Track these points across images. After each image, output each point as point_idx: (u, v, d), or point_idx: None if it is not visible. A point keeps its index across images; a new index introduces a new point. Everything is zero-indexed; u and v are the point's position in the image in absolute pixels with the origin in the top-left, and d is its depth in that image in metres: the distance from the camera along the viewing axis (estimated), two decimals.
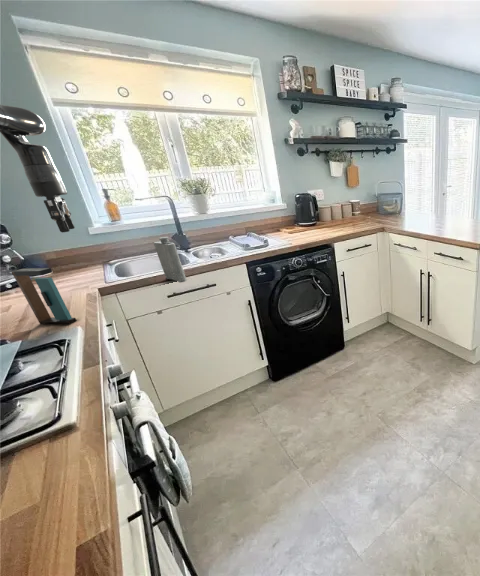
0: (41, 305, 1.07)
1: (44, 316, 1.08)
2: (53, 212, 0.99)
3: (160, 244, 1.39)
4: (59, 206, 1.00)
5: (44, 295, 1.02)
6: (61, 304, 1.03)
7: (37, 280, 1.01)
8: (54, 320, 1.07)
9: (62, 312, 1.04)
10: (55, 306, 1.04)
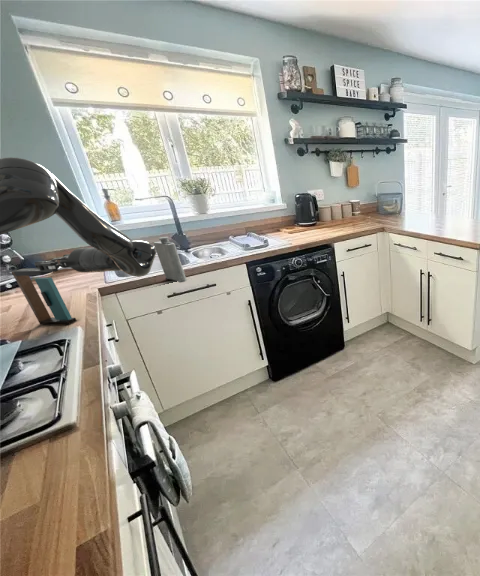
0: (41, 305, 1.07)
1: (44, 316, 1.08)
2: (53, 262, 0.93)
3: (160, 244, 1.39)
4: None
5: (44, 295, 1.02)
6: (61, 304, 1.03)
7: (37, 280, 1.01)
8: (54, 320, 1.07)
9: (62, 312, 1.04)
10: (55, 306, 1.04)
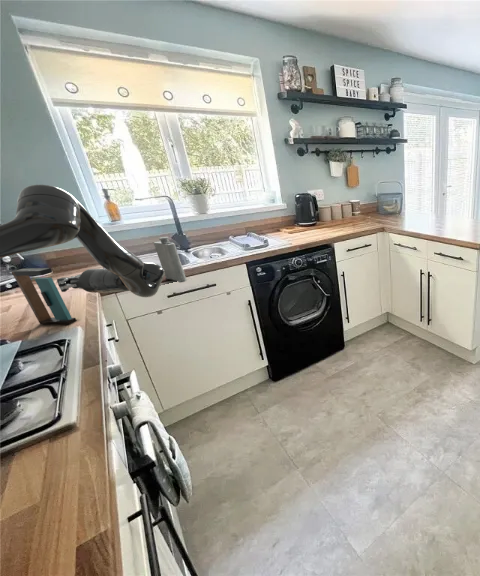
0: (41, 305, 1.07)
1: (44, 316, 1.08)
2: (69, 280, 0.97)
3: (160, 244, 1.39)
4: None
5: (44, 295, 1.02)
6: (61, 304, 1.03)
7: (37, 280, 1.01)
8: (54, 320, 1.07)
9: (62, 312, 1.04)
10: (55, 306, 1.04)
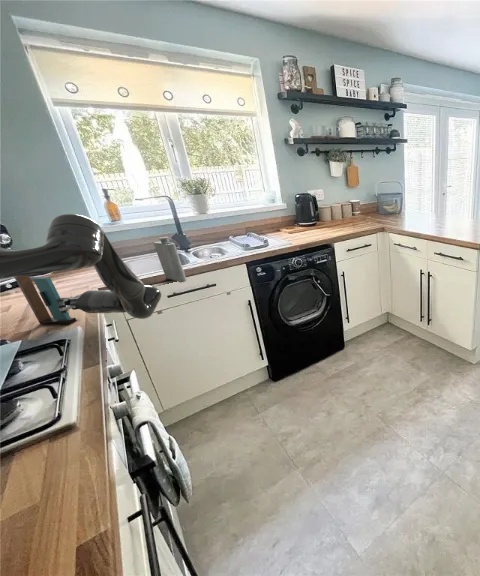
0: (41, 305, 1.07)
1: (44, 316, 1.08)
2: (69, 301, 1.01)
3: (160, 244, 1.39)
4: None
5: (43, 295, 1.02)
6: None
7: (35, 280, 1.01)
8: (54, 320, 1.07)
9: None
10: (54, 306, 1.04)
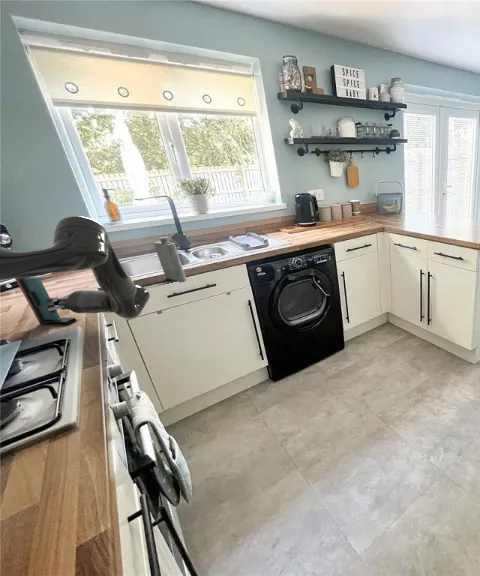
0: None
1: None
2: (58, 301, 1.02)
3: (160, 244, 1.39)
4: None
5: (32, 295, 1.03)
6: None
7: (25, 280, 1.02)
8: (54, 320, 1.07)
9: None
10: (43, 306, 1.05)
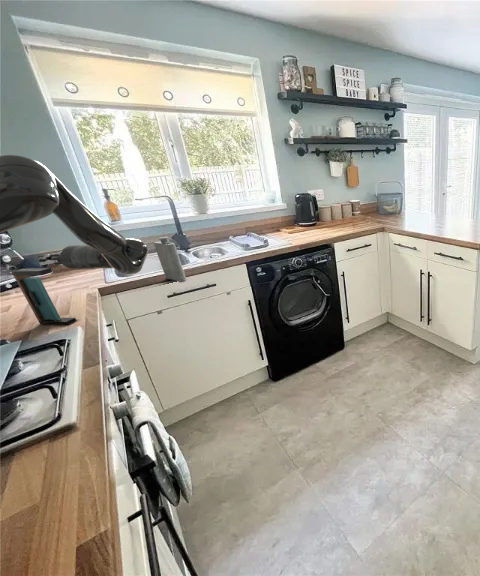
0: None
1: None
2: (50, 257, 0.95)
3: (160, 244, 1.39)
4: None
5: (33, 295, 1.03)
6: (49, 304, 1.04)
7: (25, 280, 1.02)
8: (54, 320, 1.07)
9: (50, 312, 1.05)
10: (43, 306, 1.05)
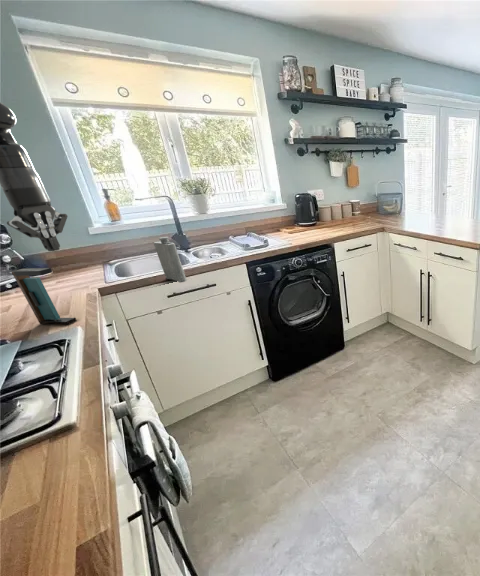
0: None
1: None
2: (34, 229, 0.84)
3: (160, 244, 1.39)
4: (28, 219, 0.81)
5: (33, 295, 1.03)
6: (49, 304, 1.04)
7: (25, 280, 1.02)
8: (54, 320, 1.07)
9: (50, 312, 1.05)
10: (43, 306, 1.05)
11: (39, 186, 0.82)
